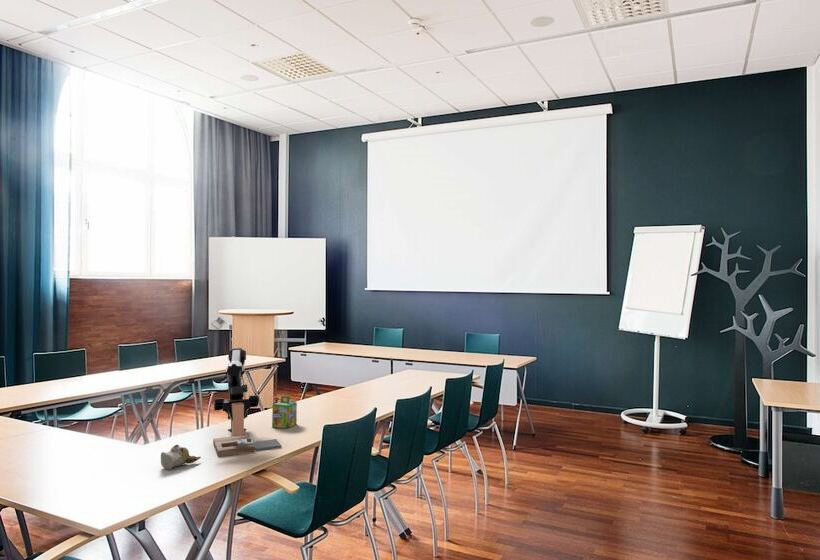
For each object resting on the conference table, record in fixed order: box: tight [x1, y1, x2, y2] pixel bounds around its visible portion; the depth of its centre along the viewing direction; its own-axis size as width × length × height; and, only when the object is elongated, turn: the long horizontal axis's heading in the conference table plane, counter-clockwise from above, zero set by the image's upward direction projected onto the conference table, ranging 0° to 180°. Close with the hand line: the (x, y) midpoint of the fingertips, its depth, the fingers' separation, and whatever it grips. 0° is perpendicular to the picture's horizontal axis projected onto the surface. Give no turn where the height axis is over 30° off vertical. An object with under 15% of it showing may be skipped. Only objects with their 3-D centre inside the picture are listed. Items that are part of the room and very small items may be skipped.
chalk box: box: [271, 395, 298, 430], centre depth 288 cm, size 9×9×15 cm
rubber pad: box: [252, 438, 282, 452], centre depth 254 cm, size 11×11×1 cm
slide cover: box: [236, 437, 254, 446], centre depth 250 cm, size 8×6×2 cm
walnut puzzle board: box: [212, 434, 256, 458], centre depth 251 cm, size 20×15×2 cm
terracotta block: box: [231, 402, 245, 436], centre depth 249 cm, size 4×4×13 cm
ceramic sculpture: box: [160, 444, 201, 470], centre depth 228 cm, size 11×9×15 cm
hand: (238, 419), depth 248 cm, fingers closed on terracotta block, 4 cm apart
